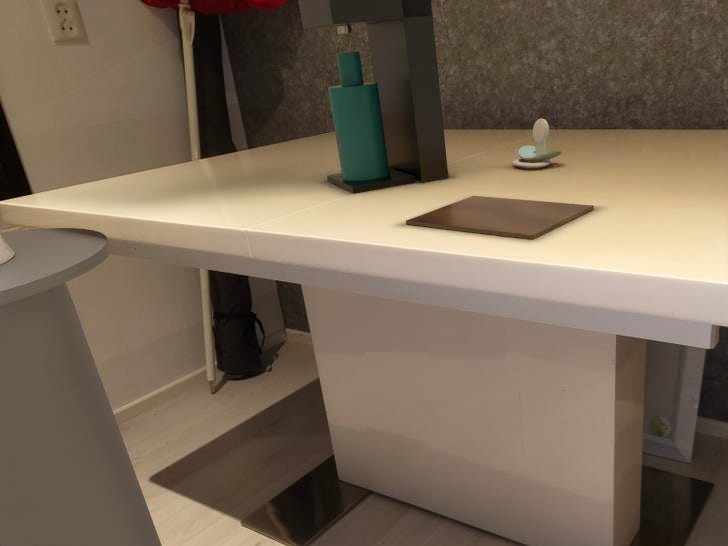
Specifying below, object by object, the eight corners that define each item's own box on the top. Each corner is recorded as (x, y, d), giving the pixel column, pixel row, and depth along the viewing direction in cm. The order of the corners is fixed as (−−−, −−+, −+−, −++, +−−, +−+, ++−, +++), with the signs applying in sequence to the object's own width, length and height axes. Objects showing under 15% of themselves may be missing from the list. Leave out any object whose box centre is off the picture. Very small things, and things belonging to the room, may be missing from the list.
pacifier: (533, 173, 93) (568, 164, 95) (530, 125, 90) (566, 118, 92) (504, 167, 98) (537, 159, 101) (500, 122, 96) (534, 115, 98)
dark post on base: (355, 194, 88) (319, -35, 77) (326, 180, 100) (290, -21, 89) (448, 177, 94) (427, -39, 82) (410, 165, 105) (386, -26, 94)
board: (532, 239, 63) (532, 235, 63) (406, 224, 72) (405, 220, 72) (594, 209, 71) (594, 205, 71) (473, 199, 80) (473, 195, 80)
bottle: (366, 182, 91) (346, 52, 84) (333, 180, 95) (311, 55, 88) (399, 172, 96) (383, 49, 89) (366, 170, 99) (348, 51, 93)
